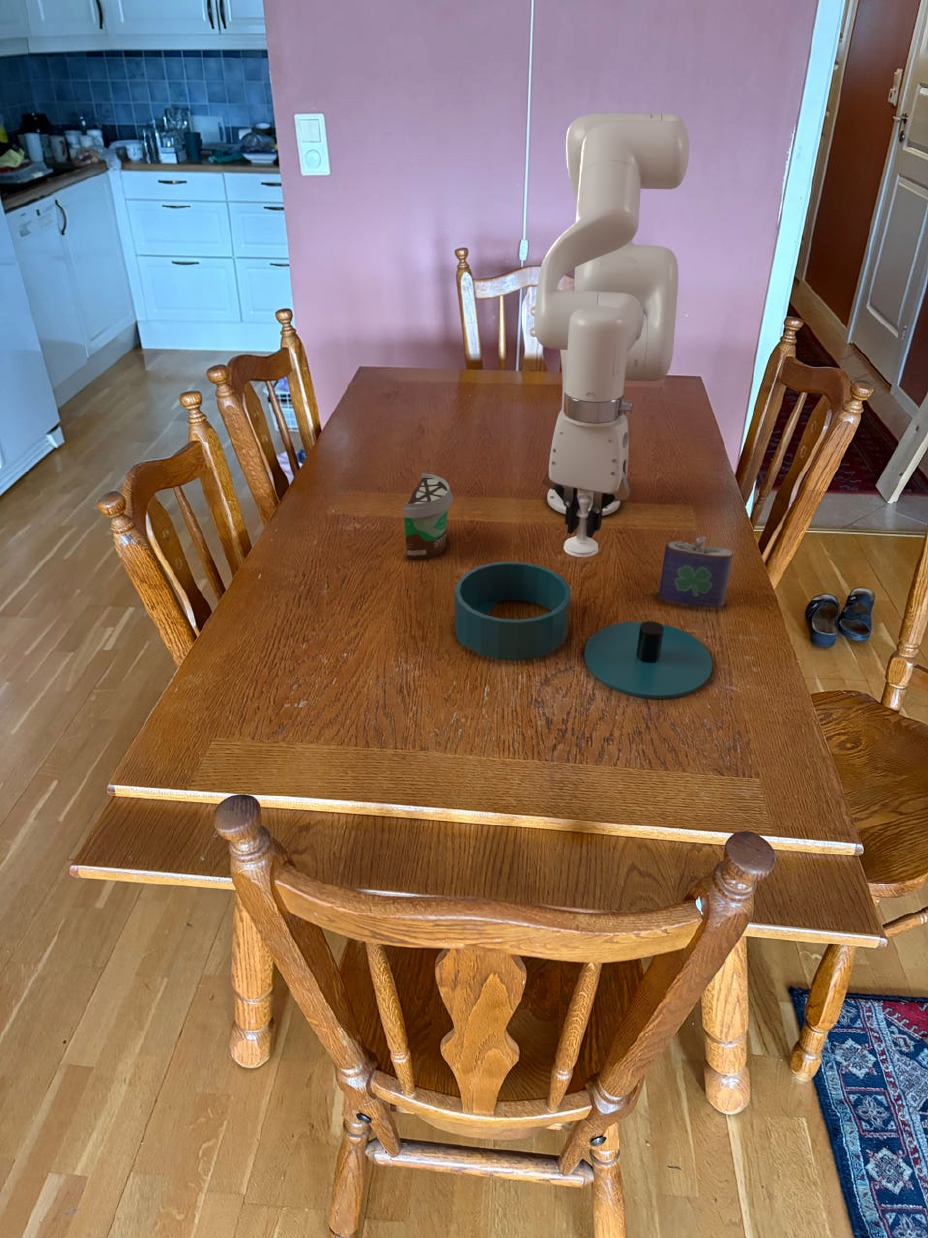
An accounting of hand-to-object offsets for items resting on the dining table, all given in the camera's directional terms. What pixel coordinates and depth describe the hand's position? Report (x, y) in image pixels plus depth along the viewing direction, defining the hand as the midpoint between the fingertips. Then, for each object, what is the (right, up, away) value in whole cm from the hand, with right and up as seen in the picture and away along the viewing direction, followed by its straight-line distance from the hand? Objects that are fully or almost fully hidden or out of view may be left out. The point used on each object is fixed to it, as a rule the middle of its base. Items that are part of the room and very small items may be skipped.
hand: (582, 530), depth 129 cm
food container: (-22, -1, +16) cm, 27 cm away
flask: (+16, -10, +3) cm, 19 cm away
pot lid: (+7, -18, -10) cm, 22 cm away
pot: (-10, -14, -4) cm, 18 cm away
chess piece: (0, -3, +2) cm, 3 cm away
